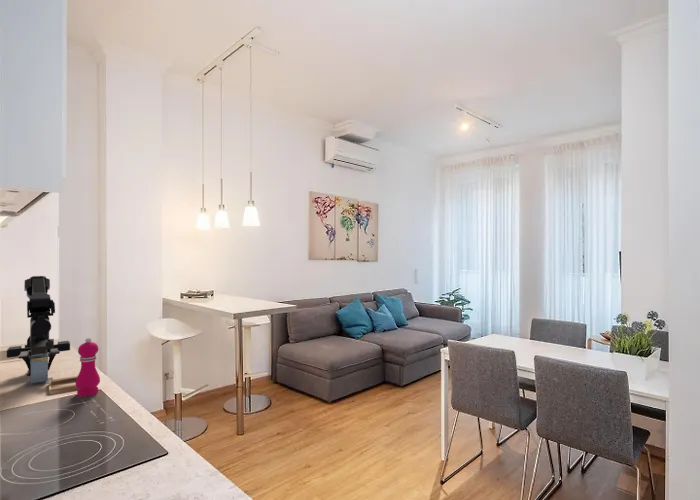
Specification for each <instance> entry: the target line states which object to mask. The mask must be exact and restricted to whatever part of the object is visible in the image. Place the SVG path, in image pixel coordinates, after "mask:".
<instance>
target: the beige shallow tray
mask: <svg viewBox="0 0 700 500" xmlns="http://www.w3.org/2000/svg"><path fill="white" fill-rule="evenodd" d="M77 377H78V375H74V376H67V377H62V378H61V377H60V378H53V380H49V384H48V395H54V394H60V393H67V392H71V391H72V392H73V391H78V390H79V389H78V388H77V387H76V379H77Z"/></svg>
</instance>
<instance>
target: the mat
mask: <svg viewBox="0 0 700 500" xmlns="http://www.w3.org/2000/svg"><path fill="white" fill-rule="evenodd" d="M49 380H54V378H53V377H48V381H44V382H37V383H31V380H27V381H26V382H25V387H24V388H31V387H37V386H43V385H49Z"/></svg>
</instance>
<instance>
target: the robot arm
mask: <svg viewBox="0 0 700 500" xmlns="http://www.w3.org/2000/svg"><path fill="white" fill-rule="evenodd" d="M50 288H51V279H50V278H47V277H46V276H44V275H32V276H30V278H27V279H25V280H24V288H23V289H24V292H26V297H27V298H28V300H27V301H26V315H27V316H26V318H28V319H29V318H30V319H29V325H30V326H29V336H28V337H27V338H26V339H27V340H26V344H24V347H22V345H17V346H16V345H15V346H9V347H8V348H7V350H6V358H7V359H9V358H17V357H18V359H22V360H23V361H24V363H25V364H26V366H27V369H28V370H27V372H26V376H31V356H32V355H36V354H45V353H48V371H50V369H51V366H52V363H53V360H54V359H55V357H56V356H57V354H58V355H59V354H60V353H61V352H66V351H67V352H68V351H70V350H71V342H70V341H69V340H64V341H63V340H61V341H57V343H56V344H55V339H54V338H50V331H51V330H52V323H51V321H50V317H53V316H54V314H56V305H55V304H56V303H55V302H54V300H53V299H51V294H48V293H49V292H48V291H49V290H50Z"/></svg>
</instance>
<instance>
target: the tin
mask: <svg viewBox="0 0 700 500" xmlns="http://www.w3.org/2000/svg"><path fill="white" fill-rule="evenodd" d="M48 361H49V357H48V352H47V353H45V354H36V355H32V356H31V375H30V381H31V383H37V382H44V381H48V378H49V370H48Z"/></svg>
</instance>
